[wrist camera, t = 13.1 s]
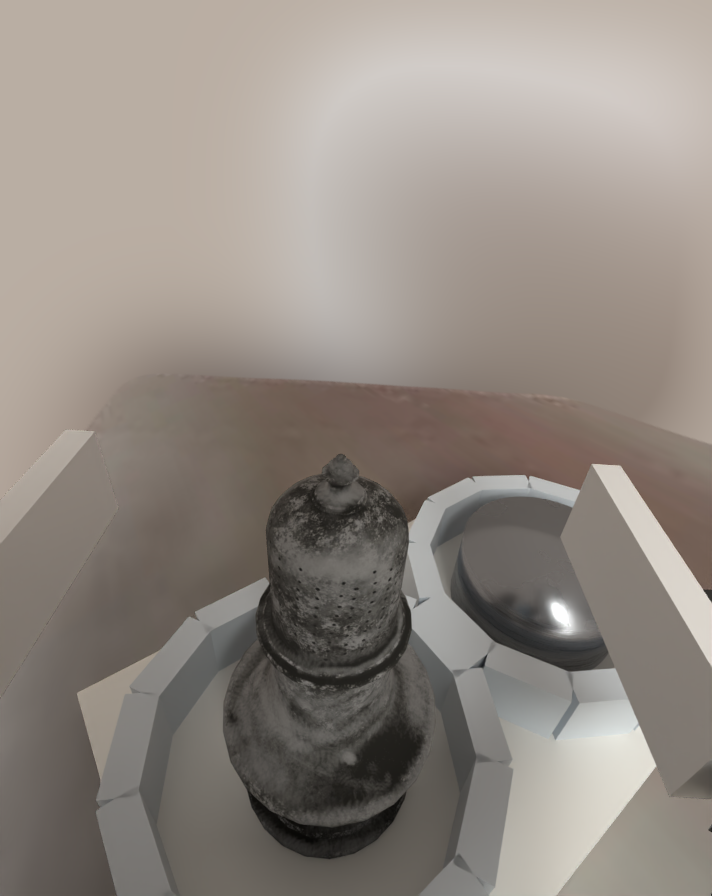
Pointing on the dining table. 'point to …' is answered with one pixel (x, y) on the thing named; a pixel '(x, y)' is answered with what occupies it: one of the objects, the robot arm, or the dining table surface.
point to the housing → (429, 798)
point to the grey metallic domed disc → (526, 583)
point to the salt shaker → (331, 671)
